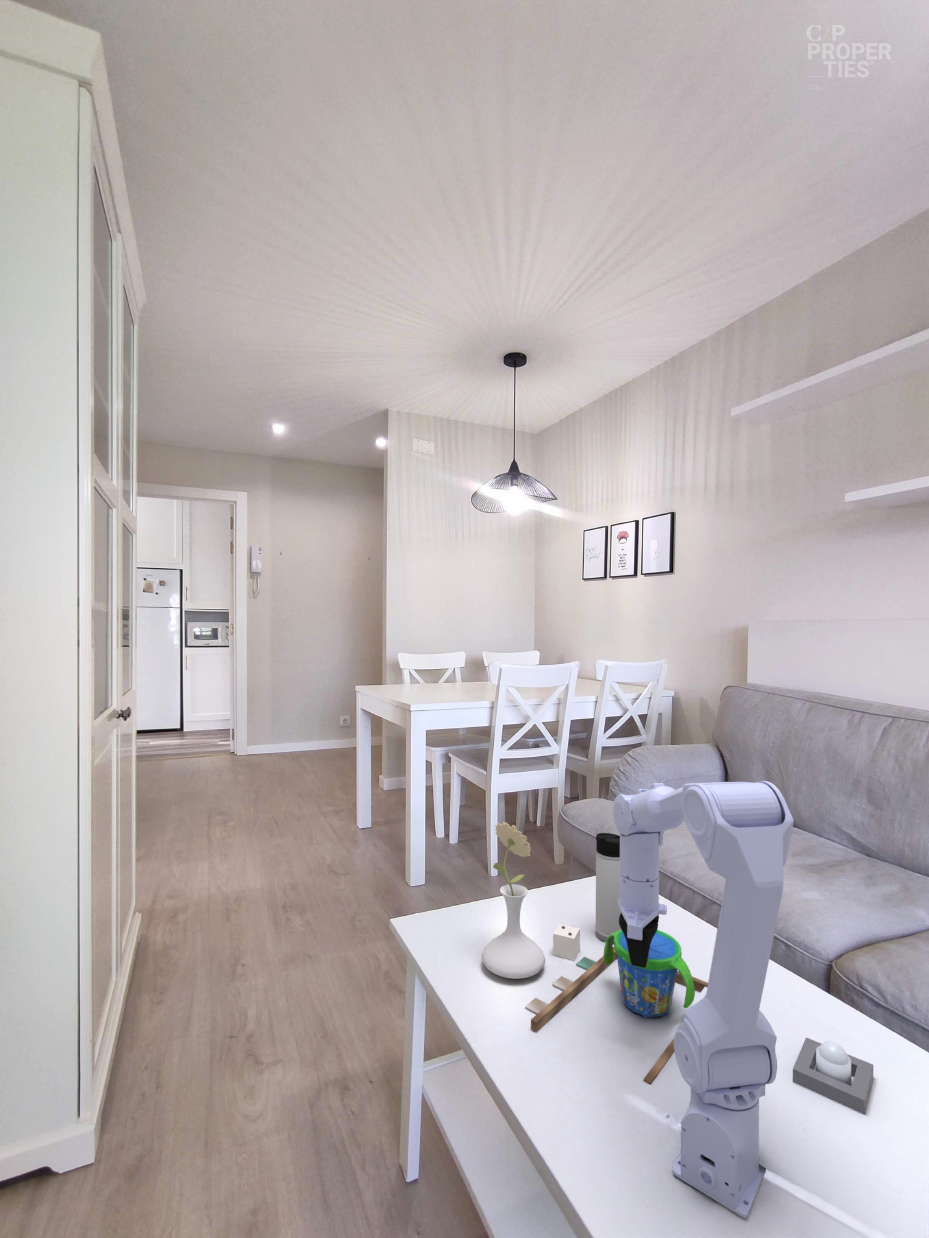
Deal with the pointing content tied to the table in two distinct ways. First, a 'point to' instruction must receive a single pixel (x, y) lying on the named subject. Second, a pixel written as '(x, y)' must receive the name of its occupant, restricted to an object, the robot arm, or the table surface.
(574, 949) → the die
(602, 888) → the travel mug
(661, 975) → the snack cup
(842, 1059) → the dome
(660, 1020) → the table surface
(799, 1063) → the button box
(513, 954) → the flower in vase
